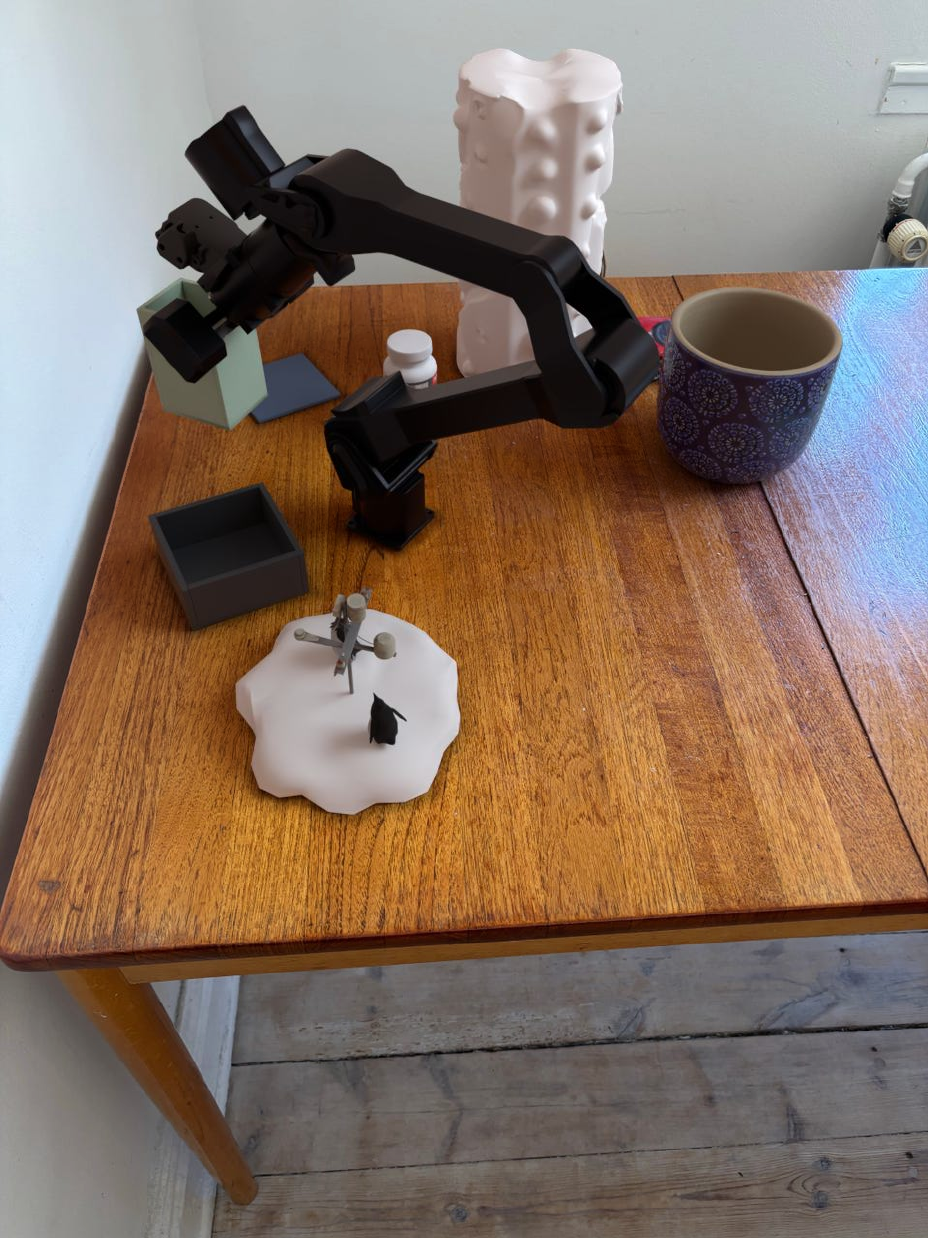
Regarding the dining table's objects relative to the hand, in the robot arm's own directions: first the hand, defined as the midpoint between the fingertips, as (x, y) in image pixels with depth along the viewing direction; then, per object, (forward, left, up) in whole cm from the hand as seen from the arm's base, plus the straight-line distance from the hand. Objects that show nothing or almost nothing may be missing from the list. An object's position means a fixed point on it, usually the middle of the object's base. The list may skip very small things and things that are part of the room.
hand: (192, 344), depth 96 cm
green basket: (-2, 0, -6) cm, 6 cm away
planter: (-44, -31, -13) cm, 56 cm away
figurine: (-32, +19, -14) cm, 40 cm away
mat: (+3, -14, -13) cm, 19 cm away
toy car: (-34, -46, -14) cm, 59 cm away
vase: (-17, -34, -13) cm, 40 cm away
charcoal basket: (-13, +12, -13) cm, 23 cm away
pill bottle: (-13, -17, -14) cm, 25 cm away
